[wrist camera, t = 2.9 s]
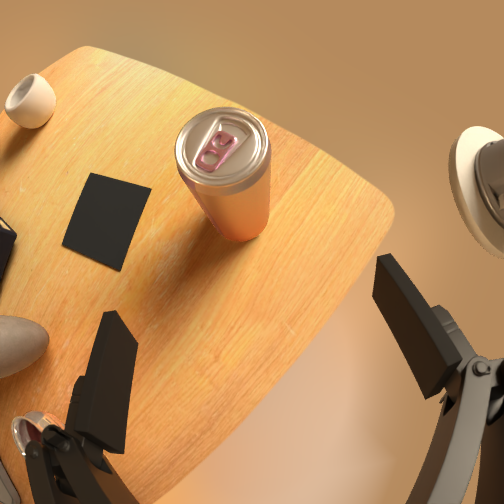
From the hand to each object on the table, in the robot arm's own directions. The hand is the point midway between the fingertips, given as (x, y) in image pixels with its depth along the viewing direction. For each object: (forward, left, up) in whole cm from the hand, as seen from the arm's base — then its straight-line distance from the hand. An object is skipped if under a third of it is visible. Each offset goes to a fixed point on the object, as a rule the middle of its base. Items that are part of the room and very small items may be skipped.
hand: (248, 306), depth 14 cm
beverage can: (+5, -8, -16) cm, 18 cm away
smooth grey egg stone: (+27, +17, -16) cm, 35 cm away
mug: (+46, -17, -16) cm, 51 cm away
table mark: (+21, -3, -16) cm, 26 cm away
